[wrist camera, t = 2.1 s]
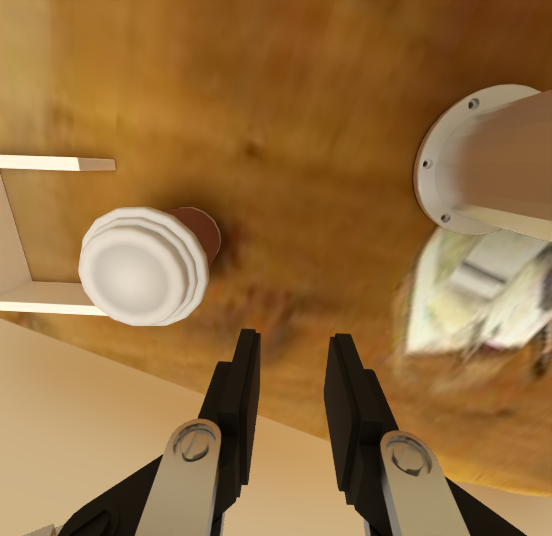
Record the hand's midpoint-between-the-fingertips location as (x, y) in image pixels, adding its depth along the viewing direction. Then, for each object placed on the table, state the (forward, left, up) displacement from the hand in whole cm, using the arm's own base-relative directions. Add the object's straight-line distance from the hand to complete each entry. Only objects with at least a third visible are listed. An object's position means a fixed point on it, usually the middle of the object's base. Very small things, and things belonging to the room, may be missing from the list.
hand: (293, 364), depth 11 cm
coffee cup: (+11, 0, -19) cm, 22 cm away
